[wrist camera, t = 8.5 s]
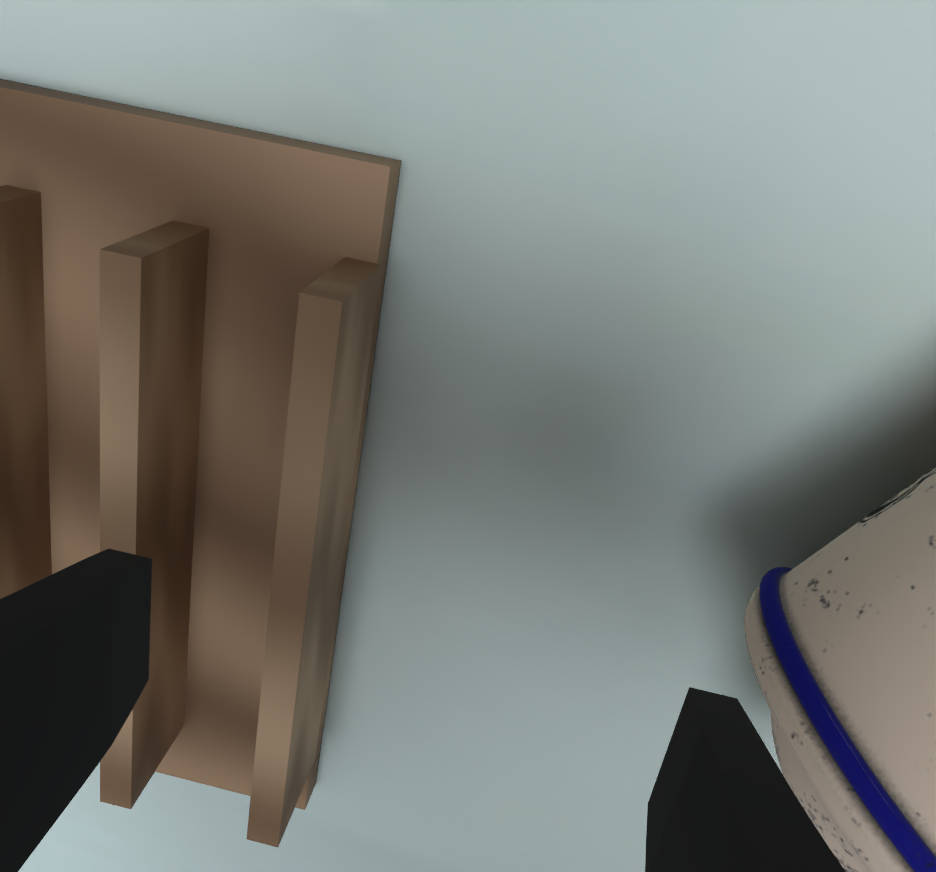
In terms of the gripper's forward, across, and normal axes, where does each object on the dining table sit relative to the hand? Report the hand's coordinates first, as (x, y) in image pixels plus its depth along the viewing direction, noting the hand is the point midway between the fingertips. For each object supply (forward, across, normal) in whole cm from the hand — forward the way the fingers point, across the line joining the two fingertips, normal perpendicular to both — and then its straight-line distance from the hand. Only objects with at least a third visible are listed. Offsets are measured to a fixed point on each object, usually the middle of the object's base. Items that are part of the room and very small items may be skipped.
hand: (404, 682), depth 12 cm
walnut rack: (+10, +9, +4) cm, 14 cm away
